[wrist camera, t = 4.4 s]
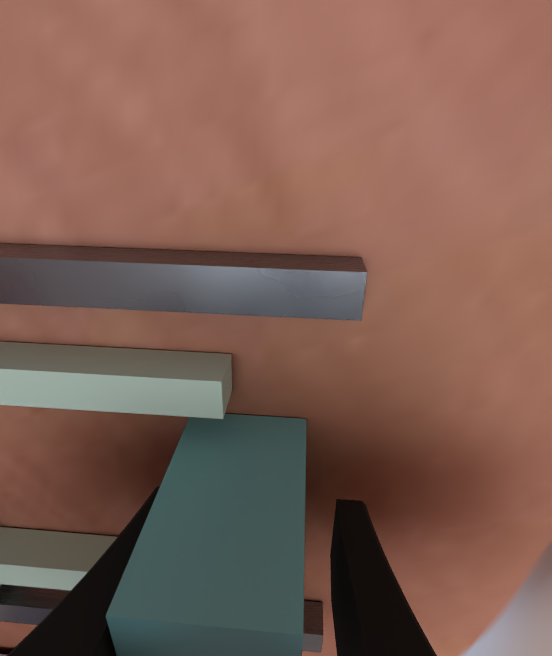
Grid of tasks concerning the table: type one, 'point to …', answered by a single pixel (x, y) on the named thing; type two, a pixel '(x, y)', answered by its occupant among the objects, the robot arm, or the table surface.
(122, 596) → the two-compartment tray
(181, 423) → the table surface
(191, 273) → the lane rails
